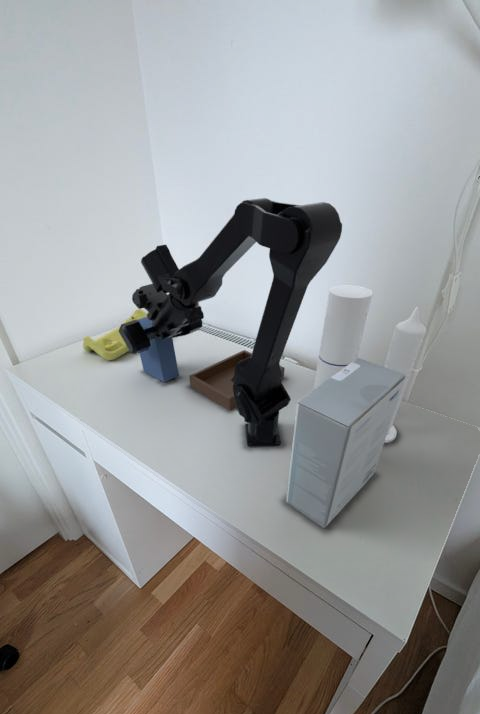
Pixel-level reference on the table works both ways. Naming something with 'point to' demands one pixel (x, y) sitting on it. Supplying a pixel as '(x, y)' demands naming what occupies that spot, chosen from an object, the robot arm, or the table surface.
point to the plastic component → (111, 341)
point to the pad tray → (220, 380)
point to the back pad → (159, 356)
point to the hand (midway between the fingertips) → (151, 342)
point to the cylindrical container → (342, 329)
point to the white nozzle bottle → (404, 356)
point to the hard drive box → (340, 437)
